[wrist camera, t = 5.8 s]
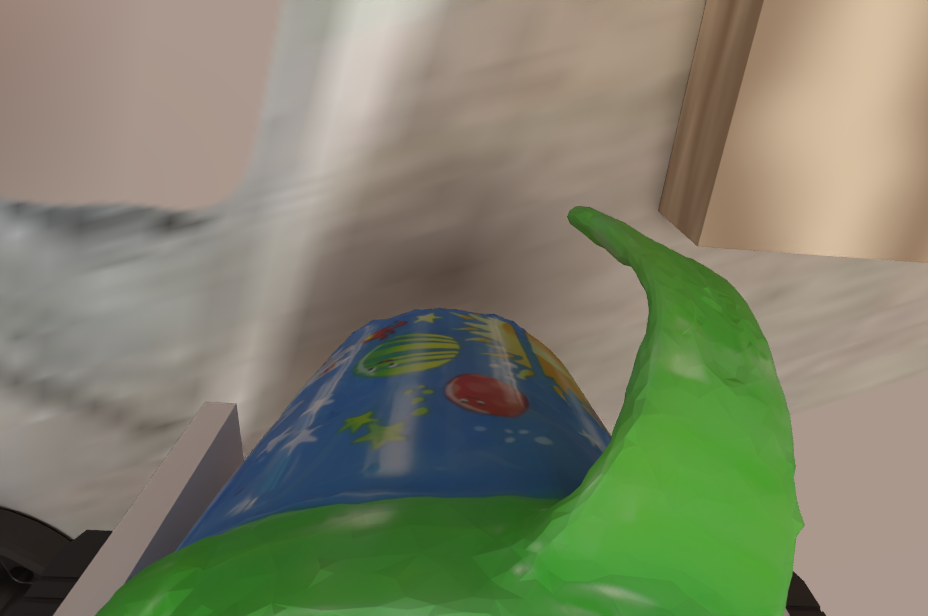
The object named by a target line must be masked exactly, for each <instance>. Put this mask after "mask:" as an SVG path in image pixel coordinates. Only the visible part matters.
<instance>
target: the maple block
mask: <svg viewBox="0 0 928 616" xmlns="http://www.w3.org/2000/svg"><path fill="white" fill-rule="evenodd" d="M658 211H659V212H660V213H661V214H662V215H663V216H664V217H665V218H667V219H668V220H669V221H670V222H671V223H672V224H673V225H674V226H675V227H676V228H678V229H679V230H680V231H681V232H682V233H683V234H684V235H685V236H686V237H688V238H689V239H690V240H691V241H692V242H693V243H694V244H695V245H696V246H698V247H710V248H725V249H739V250H753V251H767V252H781V253H796V254H810V255H824V256H838V257H853V258H867V259H881V260H895V261H909V262H924V263H928V0H707V1H706V5H705V10H704V14H703V18H702V23H701V27H700V31H699V36H698V40H697V45H696V49H695V53H694V58H693V62H692V66H691V71H690V75H689V79H688V84H687V88H686V93H685V97H684V101H683V106H682V110H681V114H680V119H679V123H678V127H677V132H676V136H675V141H674V145H673V149H672V154H671V158H670V162H669V167H668V171H667V175H666V180H665V184H664V189H663V193H662V197H661V202H660V206H659V210H658Z"/></svg>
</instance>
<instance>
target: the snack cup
mask: <svg viewBox="0 0 928 616" xmlns="http://www.w3.org/2000/svg"><path fill="white" fill-rule="evenodd" d="M567 217H568V220H569V222H570V224H571V225H573V226H574V227H575V228H577V229H578V230H579V231H581V232H582V233H583V234H585V235H586V236H587V237H588V238H589V239H590V240H592V241H593V242H594V243H595V244H596V245H599V246H601V247H603V248H605V249H606V250H607V251H608V252H609V253H610V254H611V255H612V256H613V257H614V258H615V259H617V260H618V261H619V262H620V263H622V264H623V265H627V266H631V267H632V268H633V269H634V271H635V273H636V274H637V276H638V279H639V281H640V283H641V284H642V286H643V288H644V289H645V291H646V294H647V299H648V306H649V316H648V323H647V330H646V335H645V337H644V339H643V341H642V343H641V345H640V347H639V350H638V352H637V356H636V359H635V363H634V367H633V371H632V375H631V377H630V380H629V383H628V386H627V388H626V393H625V400H624V404H623V407H622V409H621V412H620V414H619V417H618V419H617V422H616V424H615V427H614V429H613V433H612V436H611V435H610V433H609V432H608V430H607V429H606V428H605V426H604V425H603V423H602V422H601V420H600V419H599V417H598V415H597V414H596V413H595V411H594V410H593V408H592V407H591V405H590V403H589V402H588V400H587V399H586V397H585V396H584V394H583V393H582V391H581V390H580V388H579V387H578V385H577V384H576V382H575V381H574V379H573V378H572V376H571V374H570V373H569V371H568V370H567V369H566V367H565V366H564V365H563V363H562V362H561V361H560V360H559V359H558V358H557V357H556V356H555V355H554V353H553V352H552V351H551V350H549V349H548V348H547V347H546V346H545V345H543V344H542V343H541V342H540V341H539V340H537V339H536V338H534V337H533V336H531V335H530V334H528V333H527V332H526V331H525V330H524V329H522V328H520V327H519V326H518V325H517V324H516V323H515V322H514V321H510V320H507V319H504V318H502V317H500V316H498V315H496V314H478V313H472V312H467V311H462V310H457V309H441V308H438V309H426V310H413V311H411V312H408V313H404V314H401V315H398V316H396V317H393V318H389V319H385V320H372V321H371V322H369V323H368V324H366V325H365V326H363V327H362V328H360V329H359V330H357V331H355V332H353V333H352V335H351V336H349V338H348V339H347V340H346V341H345V342H344V343H343V344H342V345H341V346H340V347H339V348H338V349H337V350H336V351H335V352H334V353H333V354H332V355H331V356H330V357H329V359H328V360H327V361H326V362H325V363H324V364H323V365H322V366H321V368H320V369H319V370H318V371H317V372H316V373H315V374H314V375H313V376H312V378H311V379H310V380H309V381H308V382H307V384H306V385H305V386H304V387H303V388H302V390H301V391H300V392H299V393H298V395H297V396H296V397H295V398H294V400H293V401H292V402H291V403H290V405H289V406H288V407H287V408H286V410H285V411H284V412H283V413H282V415H281V417H280V418H279V419H278V421H277V422H276V423H275V424H274V425H273V426H272V427H271V428H270V430H269V431H268V432H267V433H266V434H265V436H264V437H263V438H262V439H261V441H260V442H259V443H258V444H257V446H256V447H255V448H254V449H253V451H252V452H251V453H250V455H249V456H248V457H247V458H246V460H245V461H244V462H243V463H242V464H241V466H240V467H239V468H238V469H237V471H236V472H235V473H234V474H233V476H232V477H231V478H230V479H229V480H228V481H227V482H226V484H225V485H224V486H223V488H222V489H221V490H220V492H219V493H218V494H217V495H216V497H215V498H214V499H213V501H212V502H211V503H210V505H209V506H208V507H207V509H206V510H205V511H204V513H203V514H202V515H201V517H200V518H199V520H198V521H197V522H196V523H195V524H194V526H193V527H192V529H191V530H190V532H189V534H188V535H187V536H186V538H185V539H184V540H183V541H182V542H181V544H180V545H179V547H178V548H177V550H176V551H175V552H173V553H171V554H169V555H167V556H165V557H163V558H162V559H160V560H158V561H156V562H155V563H153V564H151V565H149V566H147V567H146V568H144V569H143V570H141V571H140V572H139V573H138V574H136V575H135V576H134V577H133V578H131V579H130V580H129V581H128V582H126V583H125V584H124V585H123V586H121V587H120V588H119V589H118V590H117V591H116V592H115V593H114V595H113V596H112V597H111V599H110V600H109V601H108V602H107V603H106V604H105V605H104V606H103V607H102V608H101V609H100V610H99V611H98V612H97V613H96V614H95V616H783V615H784V611H785V607H786V601H787V595H788V589H789V586H790V582H791V578H792V572H793V560H794V552H795V543H796V537H797V535H798V534H799V532H800V531H801V530H802V528H803V527H804V522H803V519H802V516H801V513H800V510H799V506H798V502H797V498H796V491H795V483H794V473H795V467H796V465H795V459H794V452H793V451H794V449H793V436H792V428H791V420H790V414H789V411H788V408H787V403H786V399H785V396H784V393H783V390H782V387H781V385H780V382H779V379H778V377H777V373H776V369H775V366H774V362H773V358H772V354H771V351H770V348H769V345H768V342H767V340H766V338H765V337H764V335H763V333H762V331H761V329H760V327H759V324H758V322H757V320H756V319H755V317H754V315H753V313H752V312H751V310H750V308H749V306H748V304H747V303H746V301H745V300H744V299H743V298H742V296H741V295H740V294H739V293H738V291H737V290H736V289H735V288H734V287H733V286H732V285H731V284H730V283H729V282H728V281H727V280H726V279H724V278H723V277H721V276H720V275H718V274H716V273H715V272H713V271H712V270H710V269H709V268H707V267H705V266H704V265H702V264H700V263H698V262H697V261H695V260H693V259H690V258H687V257H685V256H683V255H681V254H679V253H677V252H675V251H673V250H671V249H669V248H667V247H666V246H664V245H662V244H660V243H657V242H655V241H653V240H652V239H650V238H648V237H646V236H644V235H643V234H641V233H640V232H638V231H637V230H635V229H633V228H632V227H630V226H629V225H627V224H626V223H624V222H622V221H619V220H617V219H615V218H612V217H610V216H608V215H606V214H603V213H601V212H599V211H597V210H594V209H592V208H590V207H582V206H577V207H574V208H573V209H571V210H570V211H569V214H568V216H567Z"/></svg>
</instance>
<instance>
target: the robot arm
mask: <svg viewBox="0 0 928 616" xmlns="http://www.w3.org/2000/svg"><path fill="white" fill-rule="evenodd" d="M243 462H244V458H243V451H242V443H241V435H240V428H239V420H238V412H237V405H236V404H234V403H215V402H205V403H204V404H203V406H202V407H201V409H200V410H199V411H198V413H197V414H196V416H195V417H194V418H193V420H192V421H191V423H190V424H189V425H188V427H187V428H186V430H185V431H184V432H183V434H182V435H181V437H180V438H179V439H178V441H177V442H176V444H175V445H174V447H173V448H172V449H171V451H170V452H169V454H168V455H167V456H166V458H165V459H164V461H163V462H162V463H161V465H160V466H159V468H158V469H157V470H156V472H155V473H154V475H153V476H152V477H151V479H150V480H149V482H148V483H147V484H146V486H145V487H144V489H143V490H142V491H141V493H140V494H139V496H138V497H137V498H136V500H135V501H134V503H133V504H132V505H131V507H130V508H129V510H128V511H127V512H126V514H125V515H124V517H123V518H122V519H121V521H120V522H119V524H118V525H117V526H116V528H115V529H114V531H101V530H86V531H85V532H84V533H82V534H81V535H80V536H78V537H77V538H76V539H74V540H73V541H72V542H70V541H69V540H68V539H66V538H65V537H63V536H62V535H60V534H58V533H57V532H55V531H53V530H52V529H50V528H48V527H46V526H44V525H42V524H40V523H38V522H36V521H34V520H31V519H29V518H26V517H24V516H21V515H18V514H15V513H12V512H9V511H6V510H2V509H0V616H95V614H96V613H97V612H98V611H99V610H100V609H101V608H102V607H103V606H104V605H105V604H106V603H107V602H108V601H109V600H110V599H111V597H112V596H113V595H114V593H115V592H116V591H117V590H118V589H119V588H120V587H121V586H123V585H124V584H125V583H126V582H128V581H129V580H130V579H131V578H133V577H134V576H135V575H136V574H138V573H139V572H140V571H141V570H143V569H144V568H146V567H147V566H149V565H151V564H153V563H155V562H156V561H158V560H160V559H162V558H163V557H165V556H167V555H169V554H171V553H173V552H175V551H176V550H177V548H178V547H179V545H180V544H181V542H182V541H183V540H184V539H185V538H186V536H187V535H188V534H189V532H190V530H191V529H192V527H193V526H194V524H195V523H196V522H197V521H198V520H199V518H200V517H201V515H202V514H203V513H204V511H205V510H206V509H207V507H208V506H209V505H210V503H211V502H212V501H213V499H214V498H215V497H216V495H217V494H218V493H219V492H220V490H221V489H222V488H223V486H224V485H225V484H226V482H227V481H228V480H229V479H230V478H231V477H232V476H233V474H234V473H235V472H236V471H237V469H238V468H239V467H240V466H241V464H242V463H243ZM783 616H826V615H825V613H824V612H821V610H820V606H819V604H818V602H817V601H816V600H815V598H814V596H813V595H812V593H811V592H810V590H809V588H808V587H807V585H806V584H805V582H804V581H803V580H802V579H801V578H800V577H799V576H797V574H796V573H794V572H792V578H791V582H790V586H789V589H788V595H787V601H786V607H785V611H784V615H783Z"/></svg>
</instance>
